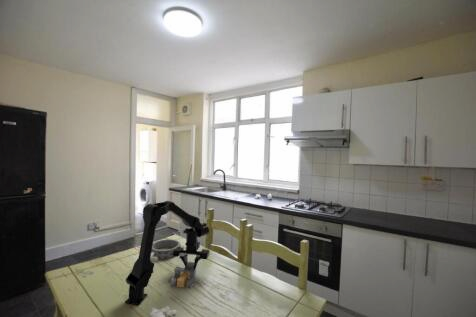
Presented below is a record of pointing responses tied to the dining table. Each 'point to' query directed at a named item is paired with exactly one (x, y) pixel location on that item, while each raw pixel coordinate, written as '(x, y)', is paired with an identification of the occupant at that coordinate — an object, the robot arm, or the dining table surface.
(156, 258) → the pipe connector
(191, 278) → the frame
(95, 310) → the dining table surface
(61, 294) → the dining table surface
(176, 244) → the grey round bowl
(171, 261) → the dining table surface
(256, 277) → the dining table surface
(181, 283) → the plug
